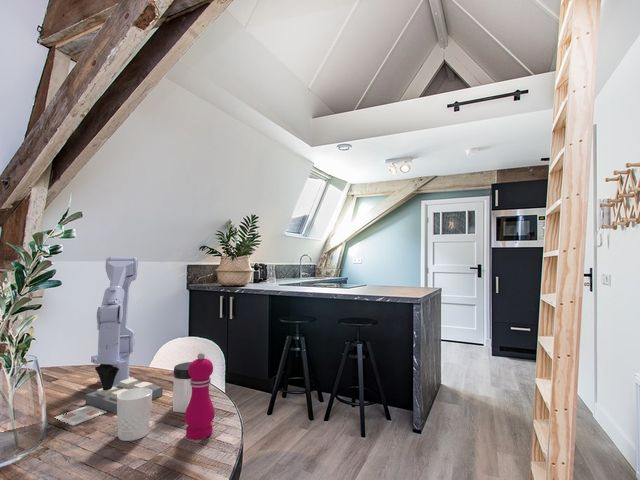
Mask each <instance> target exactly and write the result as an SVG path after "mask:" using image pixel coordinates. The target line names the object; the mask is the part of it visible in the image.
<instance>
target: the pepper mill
mask: <svg viewBox="0 0 640 480" xmlns="http://www.w3.org/2000/svg"><path fill="white" fill-rule="evenodd" d="M205 356H206V354H205V353H204V352H199V353H198V354H197V356H196V357H197V359H195V360H192V361H191V362H192V363H191V364H190V365H189V368H188V374H189V376H190V377H191V378H192V379H191V380H190V386H192V395H191V399H190V402H189V404H188V407H187V409H186V412H185V413H184V423H185V424H186V425H187V426H186V429H185V431H186V432H185V436H186V437H187V438H188V439H190V440H203V439H207V438H208V437H209V436H211V435H212V434H213V430H214V429H213V427H214V426H213V423H212V422H213V421H214V419H215V417H216V413H215V407H214V404H213V401H212V398H211V396H210V385H211V383H212V381H211V380H212V377H211V375H213V372H214V365H213V363H212V360H210V359H208V358H205Z"/></svg>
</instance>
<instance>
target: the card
mask: <svg viewBox="0 0 640 480" xmlns="http://www.w3.org/2000/svg"><path fill="white" fill-rule="evenodd" d="M66 413H67V415H65V414H66ZM104 413H105V414H107V413H108V410H105V409H102V408H99V407H96V406H93V405H90V404H87V405H85V406H83V407H82V406H81V407H80V408H76V409H74V410H71V411H68V412H65V413H63V414H64V415H63V414H60V415H57V416H53V419H54V418H56V419H55V420H57V419H58V420H57V421H59V420H60V421H59V422H61V423H64V422H65V424H67V423H68V424H67V425H70V426H76V425H78V424H81V423H84V422H86V421H89V420H91V419H94V417H95V418H97V417H99V415H100V416H103V415H105V414H104Z"/></svg>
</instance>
